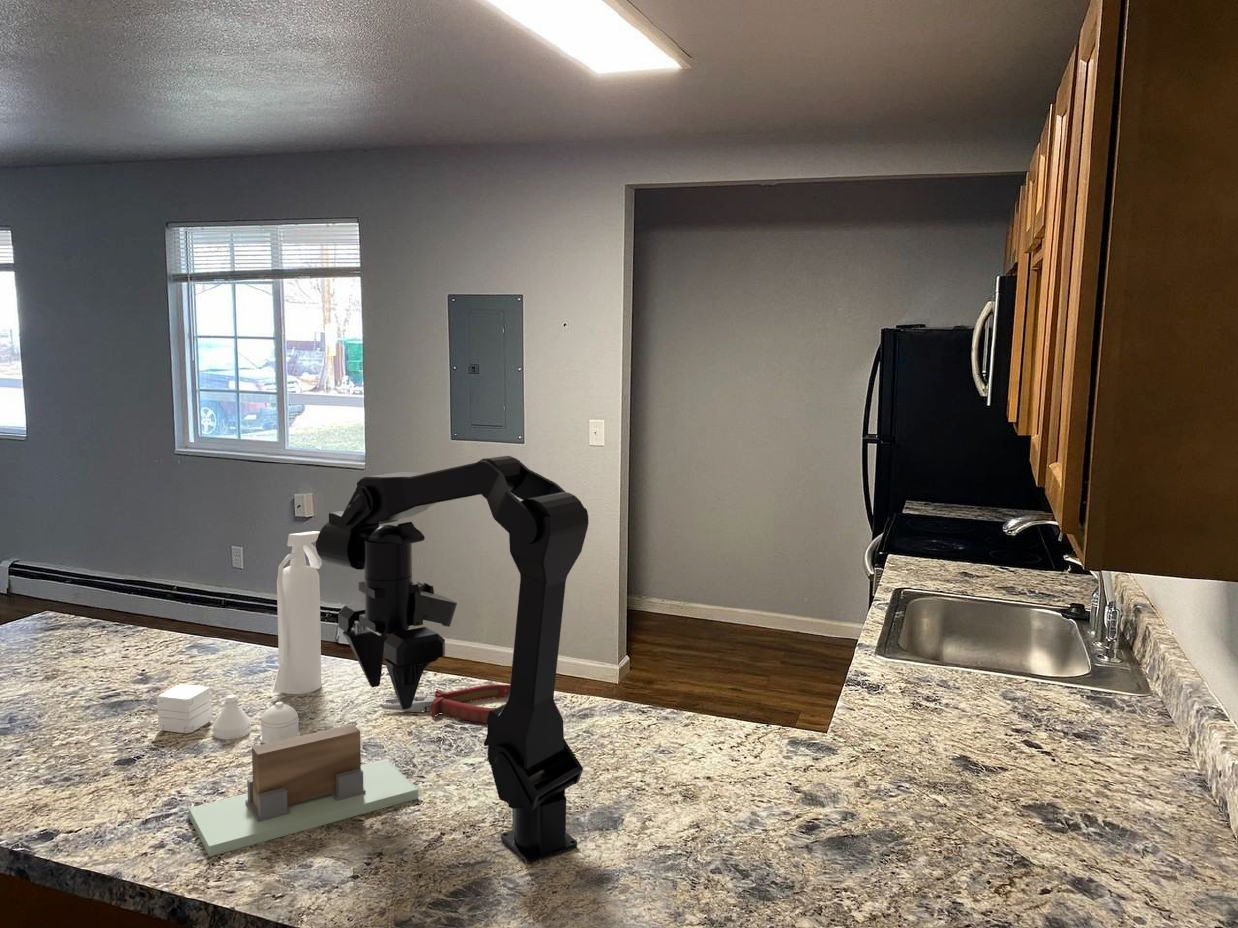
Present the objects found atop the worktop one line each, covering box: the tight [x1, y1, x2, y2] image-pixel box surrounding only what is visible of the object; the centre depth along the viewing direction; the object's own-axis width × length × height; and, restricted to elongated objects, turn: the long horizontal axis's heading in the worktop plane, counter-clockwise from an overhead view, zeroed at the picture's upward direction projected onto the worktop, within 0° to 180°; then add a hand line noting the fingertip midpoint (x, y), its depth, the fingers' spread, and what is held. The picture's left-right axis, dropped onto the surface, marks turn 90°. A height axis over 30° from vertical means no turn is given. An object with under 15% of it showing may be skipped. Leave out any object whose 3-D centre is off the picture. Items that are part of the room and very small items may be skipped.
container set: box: [156, 683, 301, 744], centre depth 134 cm, size 20×5×6 cm, turn 78°
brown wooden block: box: [251, 724, 362, 810], centre depth 113 cm, size 2×12×7 cm, turn 126°
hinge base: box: [188, 758, 419, 858], centre depth 113 cm, size 10×24×4 cm, turn 126°
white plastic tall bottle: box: [271, 530, 323, 695], centre depth 149 cm, size 7×12×25 cm, turn 162°
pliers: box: [381, 684, 510, 724], centre depth 144 cm, size 12×20×3 cm, turn 94°
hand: (390, 697), depth 119 cm, fingers open, 9 cm apart
